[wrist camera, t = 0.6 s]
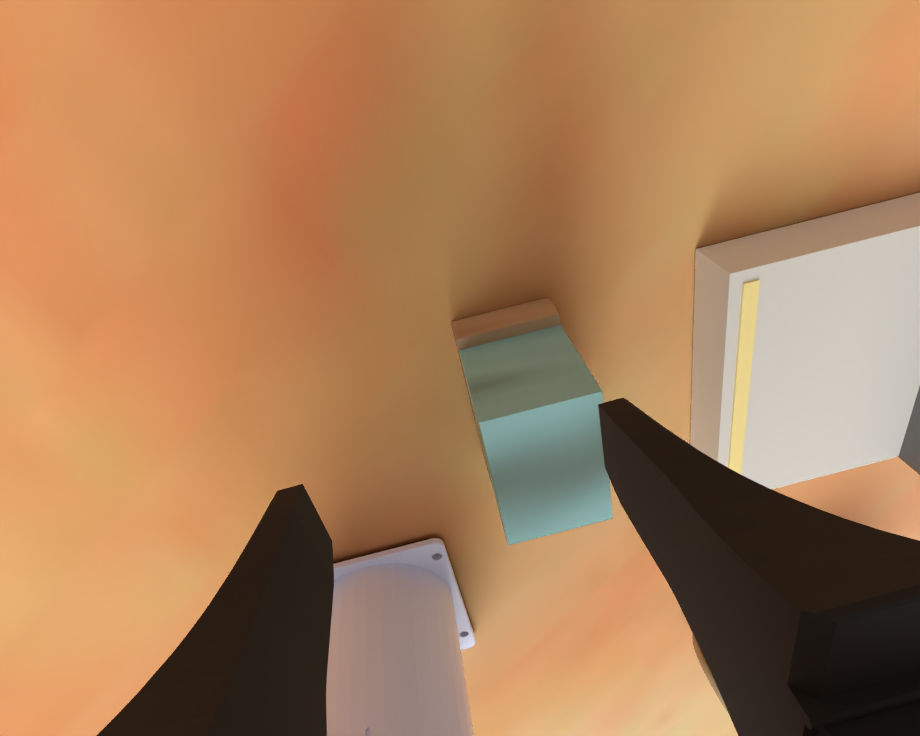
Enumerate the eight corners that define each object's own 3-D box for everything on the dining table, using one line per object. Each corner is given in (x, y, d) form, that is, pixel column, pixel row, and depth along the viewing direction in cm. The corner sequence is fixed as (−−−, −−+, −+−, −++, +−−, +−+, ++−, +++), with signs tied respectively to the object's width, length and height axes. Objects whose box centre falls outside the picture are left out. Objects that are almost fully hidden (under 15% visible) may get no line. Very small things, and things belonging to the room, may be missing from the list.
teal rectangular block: (565, 428, 27) (613, 527, 22) (482, 450, 27) (510, 554, 22) (548, 296, 23) (601, 378, 18) (450, 321, 23) (476, 410, 18)
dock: (878, 419, 29) (955, 480, 25) (689, 468, 29) (738, 536, 25) (939, 187, 23) (1055, 223, 19) (695, 249, 22) (763, 297, 19)
